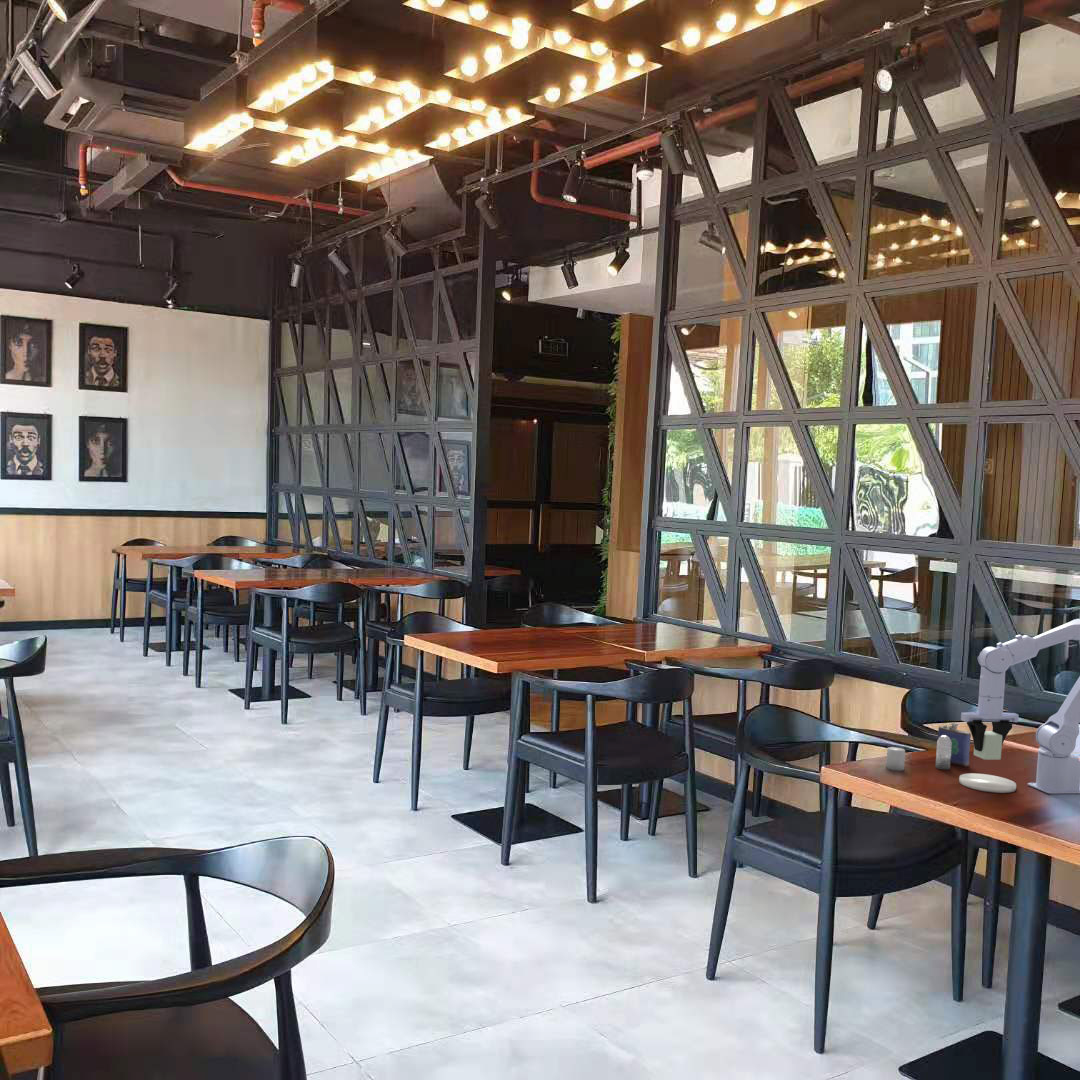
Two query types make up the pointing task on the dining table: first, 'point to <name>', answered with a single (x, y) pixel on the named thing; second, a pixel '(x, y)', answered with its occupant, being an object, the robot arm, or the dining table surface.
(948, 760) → the salt shaker
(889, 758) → the white rounded domed part
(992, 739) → the sage block
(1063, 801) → the dining table surface
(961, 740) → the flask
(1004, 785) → the plate
